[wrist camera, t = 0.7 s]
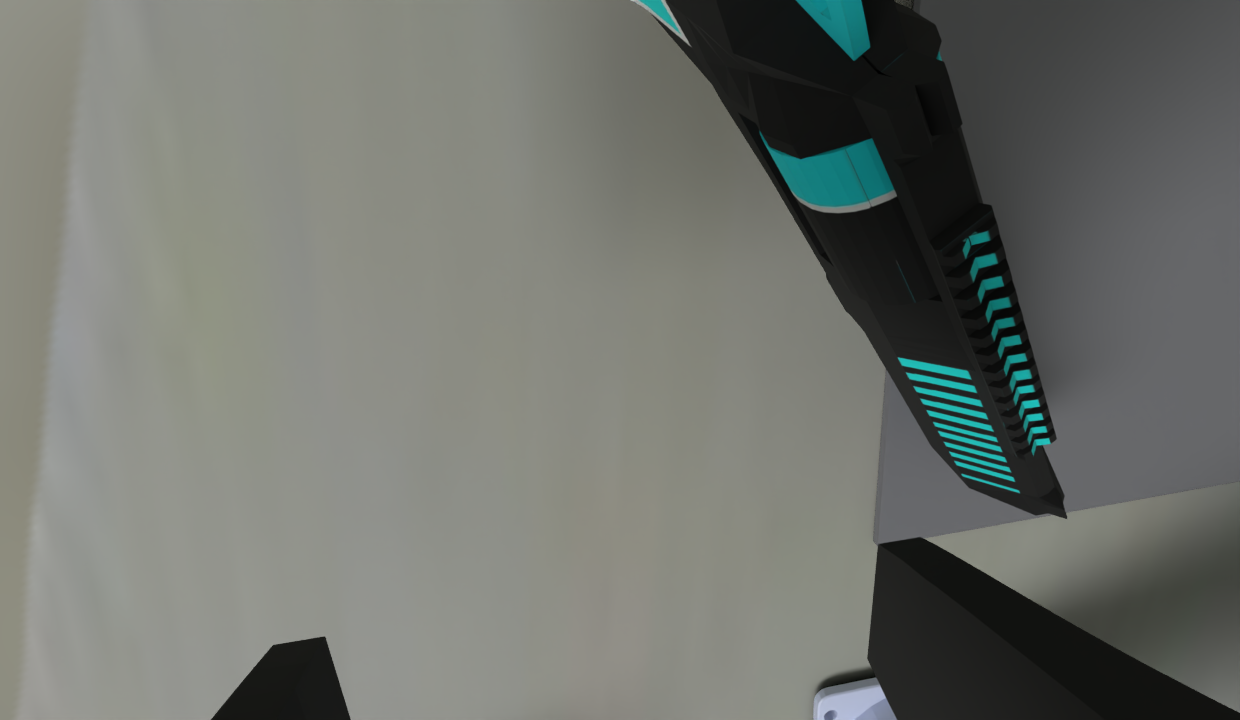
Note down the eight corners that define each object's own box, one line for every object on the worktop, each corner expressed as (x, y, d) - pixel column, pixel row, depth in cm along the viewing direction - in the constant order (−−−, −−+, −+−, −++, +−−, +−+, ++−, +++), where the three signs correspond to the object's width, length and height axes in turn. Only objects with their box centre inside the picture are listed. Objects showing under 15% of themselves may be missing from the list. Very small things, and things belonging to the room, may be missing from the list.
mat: (1239, 475, 24) (1248, 479, 24) (873, 540, 22) (877, 546, 22) (1531, -449, 15) (1551, -459, 15) (947, -452, 13) (957, -464, 13)
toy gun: (816, 345, 26) (1021, 556, 18) (428, -226, 12) (603, -304, 5) (880, 294, 25) (1117, 489, 18) (548, -353, 12) (937, -645, 5)
